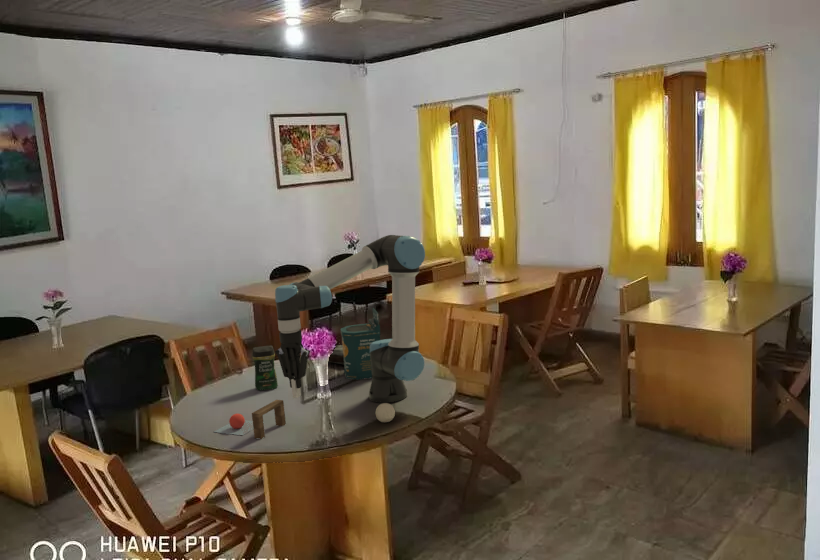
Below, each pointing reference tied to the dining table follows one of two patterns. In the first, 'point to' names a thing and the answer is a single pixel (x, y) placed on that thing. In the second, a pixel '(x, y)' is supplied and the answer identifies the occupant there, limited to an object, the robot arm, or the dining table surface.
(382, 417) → the baseball
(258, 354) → the coffee jar
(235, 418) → the ball
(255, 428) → the bridge
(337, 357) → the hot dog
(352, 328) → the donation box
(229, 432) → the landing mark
